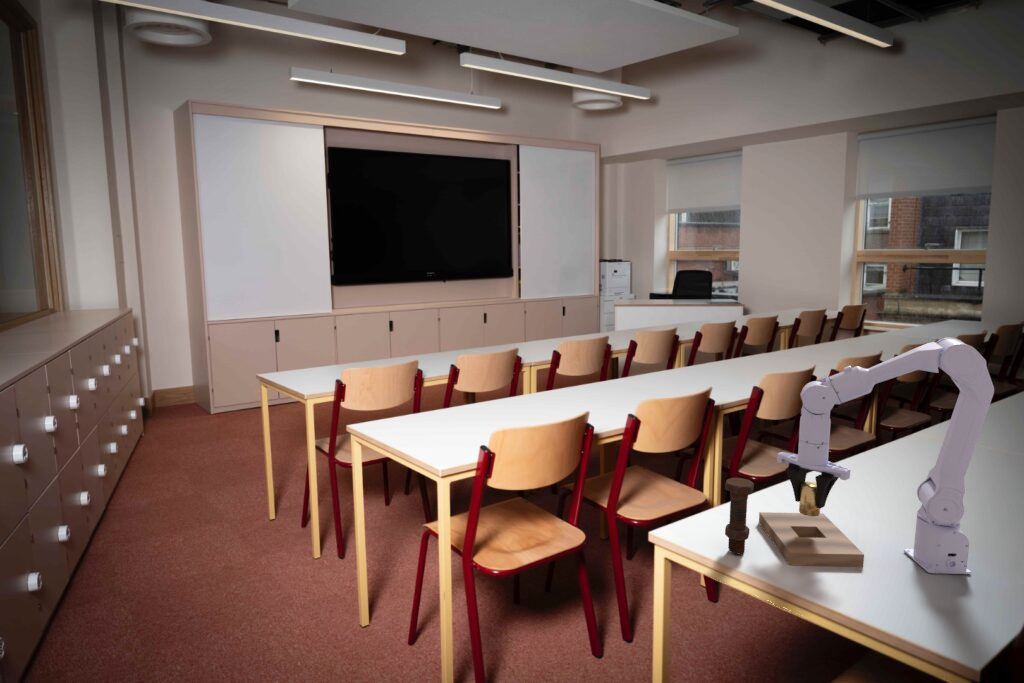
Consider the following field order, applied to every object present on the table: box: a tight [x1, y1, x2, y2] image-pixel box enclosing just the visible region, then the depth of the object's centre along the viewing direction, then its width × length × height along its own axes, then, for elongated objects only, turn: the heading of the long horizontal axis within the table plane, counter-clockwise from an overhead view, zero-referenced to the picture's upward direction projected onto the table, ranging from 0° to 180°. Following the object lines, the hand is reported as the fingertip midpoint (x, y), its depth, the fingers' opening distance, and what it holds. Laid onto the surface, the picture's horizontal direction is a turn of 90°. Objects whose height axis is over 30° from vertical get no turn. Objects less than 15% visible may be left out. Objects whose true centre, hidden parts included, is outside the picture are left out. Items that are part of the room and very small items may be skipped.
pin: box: [798, 481, 821, 516], centre depth 142 cm, size 4×4×6 cm
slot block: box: [758, 511, 865, 568], centre depth 143 cm, size 20×14×2 cm
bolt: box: [724, 477, 755, 556], centre depth 138 cm, size 6×5×15 cm
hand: (809, 503), depth 142 cm, fingers closed on pin, 4 cm apart
